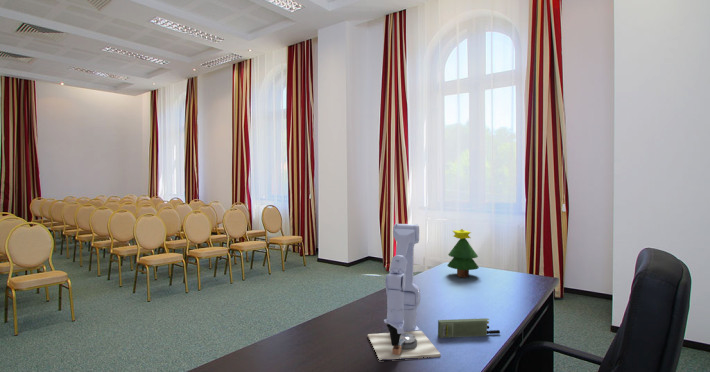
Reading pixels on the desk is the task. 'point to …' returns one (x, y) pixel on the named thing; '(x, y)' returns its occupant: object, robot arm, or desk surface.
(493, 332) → the handheld radio
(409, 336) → the frying pan
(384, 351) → the board
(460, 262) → the decorative tree
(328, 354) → the desk surface
